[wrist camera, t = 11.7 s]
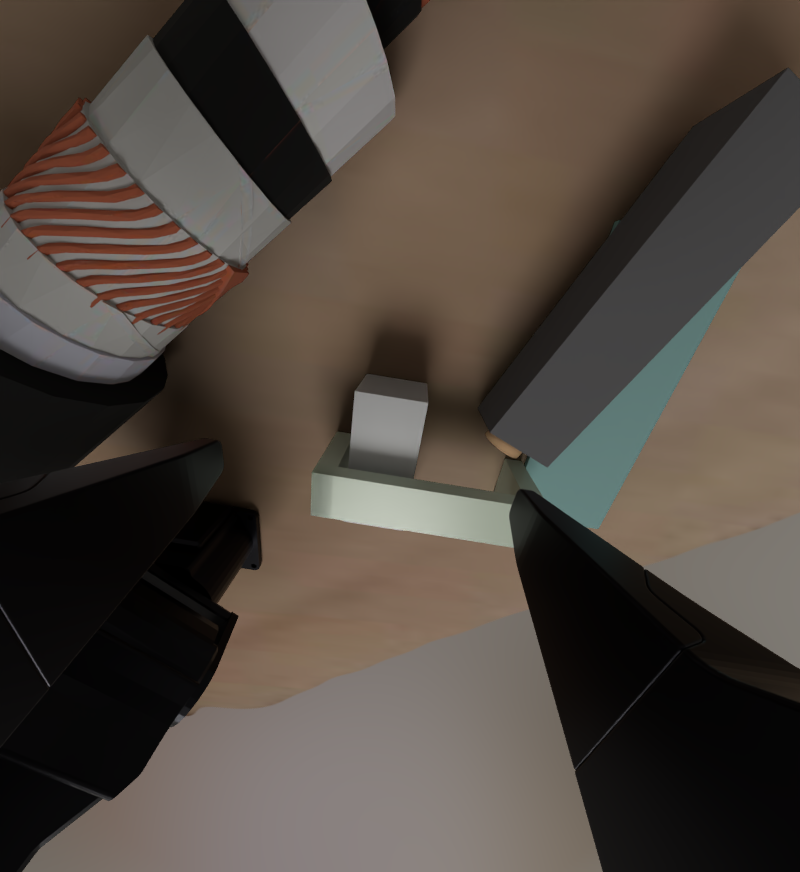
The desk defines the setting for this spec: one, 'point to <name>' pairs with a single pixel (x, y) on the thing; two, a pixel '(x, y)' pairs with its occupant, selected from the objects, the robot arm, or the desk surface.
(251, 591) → the desk surface
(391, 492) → the light grey piece
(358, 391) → the block
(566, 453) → the mat
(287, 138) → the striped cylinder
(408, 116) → the desk surface
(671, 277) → the dark gray bar
